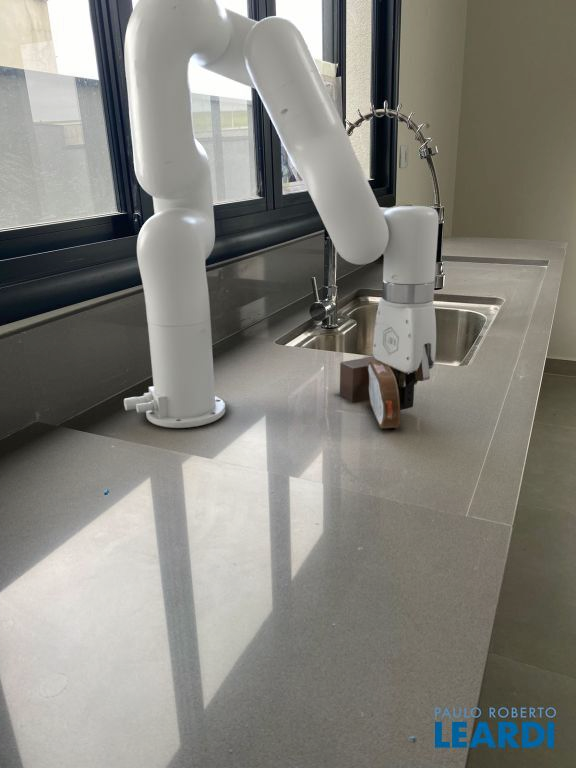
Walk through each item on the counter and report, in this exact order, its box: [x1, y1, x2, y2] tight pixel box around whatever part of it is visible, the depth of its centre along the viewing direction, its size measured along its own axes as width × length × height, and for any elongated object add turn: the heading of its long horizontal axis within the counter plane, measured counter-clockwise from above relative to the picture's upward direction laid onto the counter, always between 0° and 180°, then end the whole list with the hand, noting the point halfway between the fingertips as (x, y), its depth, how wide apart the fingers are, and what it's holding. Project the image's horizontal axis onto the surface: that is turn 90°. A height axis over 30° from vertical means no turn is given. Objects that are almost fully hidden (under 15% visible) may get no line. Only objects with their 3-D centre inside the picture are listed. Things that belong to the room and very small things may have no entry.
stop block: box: [339, 355, 376, 403], centre depth 104 cm, size 8×4×6 cm, turn 118°
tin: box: [368, 360, 401, 429], centre depth 94 cm, size 15×3×8 cm, turn 1°
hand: (401, 407), depth 96 cm, fingers closed
